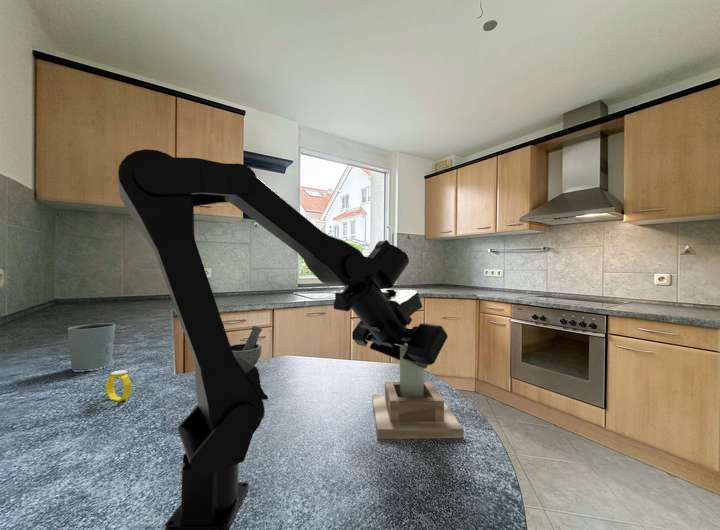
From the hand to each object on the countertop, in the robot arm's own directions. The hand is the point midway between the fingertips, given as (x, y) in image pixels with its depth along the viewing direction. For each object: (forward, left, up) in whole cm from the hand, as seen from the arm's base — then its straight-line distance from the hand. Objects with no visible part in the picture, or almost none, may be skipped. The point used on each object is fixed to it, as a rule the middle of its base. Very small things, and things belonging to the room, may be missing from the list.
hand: (416, 363), depth 56 cm
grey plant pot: (+30, +87, -10) cm, 93 cm away
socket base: (-1, +1, -10) cm, 10 cm away
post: (-1, +1, -7) cm, 7 cm away
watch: (+8, +62, -10) cm, 63 cm away
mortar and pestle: (+26, +42, -10) cm, 51 cm away
